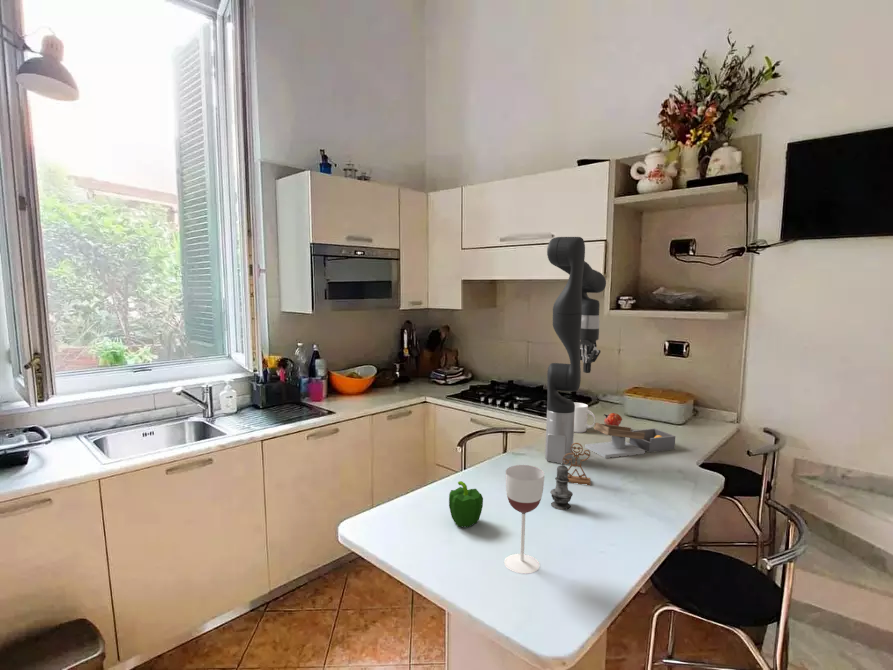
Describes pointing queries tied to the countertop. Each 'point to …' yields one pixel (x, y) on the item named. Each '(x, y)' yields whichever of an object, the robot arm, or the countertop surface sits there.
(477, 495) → the bell pepper
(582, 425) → the mug
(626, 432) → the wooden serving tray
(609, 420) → the pomegranate
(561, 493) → the salt shaker
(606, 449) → the base
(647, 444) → the grey open box
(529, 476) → the wineglass
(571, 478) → the gingerbread man figurine
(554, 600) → the countertop surface
